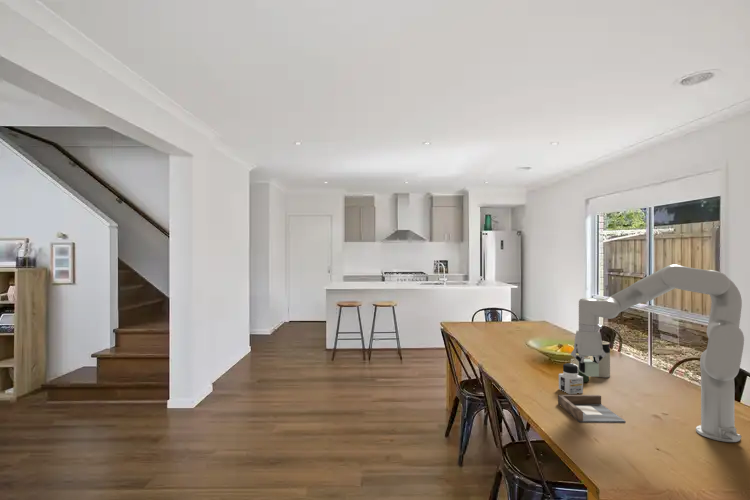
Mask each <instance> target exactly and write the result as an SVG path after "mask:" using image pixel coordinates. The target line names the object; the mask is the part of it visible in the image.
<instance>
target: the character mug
mask: <svg viewBox="0 0 750 500" xmlns="http://www.w3.org/2000/svg"><path fill="white" fill-rule="evenodd" d="M576 355H577V356H579V354H576ZM584 359H590V360H592V361H593V359H591V356H585V358H584ZM570 363H572V364H576V365H577V366H578V375H579V376H582V377H583V383H587V382H589V381H590V378H589V377H590V376H586V375H585V374H583V373H581V372H580V371H579V361H578V360H577V359H576V358H575V357H574V358H570Z"/></svg>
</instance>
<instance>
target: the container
mask: <svg viewBox="0 0 750 500" xmlns="http://www.w3.org/2000/svg"><path fill="white" fill-rule="evenodd" d="M562 368H563V371H562V372H563V373H558V390H559V389H560V390H559V391H561V390H562V391H561V392H563V391H564V393H565V392H566V394H567V395H578V394H577V393H579V394H584V382H583V377H582V376H579V375H578V366H577V365H576V364H572V363H571V362H569V363H567V362H566V363H564V364H563V366H562Z"/></svg>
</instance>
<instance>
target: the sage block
mask: <svg viewBox="0 0 750 500" xmlns="http://www.w3.org/2000/svg"><path fill="white" fill-rule="evenodd" d="M592 360H593V359H591V358H590V359H584V363H585V373H583V372H581V371H580V370H579V371H580V372H581V373H583V374H585V375H586V376H589V377H598V378H600V377H599V364H597V363H595V362H594V361H592Z"/></svg>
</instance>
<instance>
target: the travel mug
mask: <svg viewBox="0 0 750 500" xmlns="http://www.w3.org/2000/svg"><path fill="white" fill-rule="evenodd" d="M610 344H611V343H610V342H608V341H605V340H602V347H603V350H604V352H605V353H606V356H605V357H604V358H602V359H601V360H600V362H599V363H598V364H599V377H598V378H604V379H605V378H610V377H611V349H610Z"/></svg>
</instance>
